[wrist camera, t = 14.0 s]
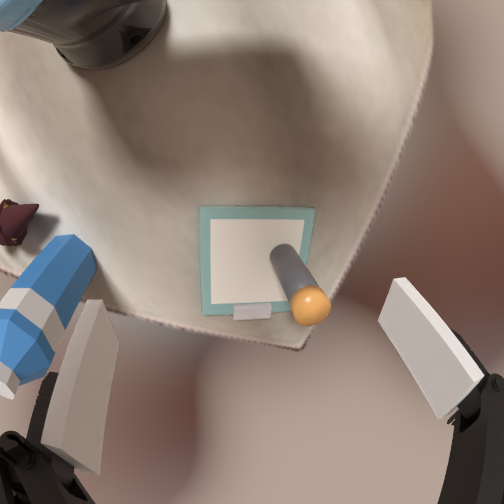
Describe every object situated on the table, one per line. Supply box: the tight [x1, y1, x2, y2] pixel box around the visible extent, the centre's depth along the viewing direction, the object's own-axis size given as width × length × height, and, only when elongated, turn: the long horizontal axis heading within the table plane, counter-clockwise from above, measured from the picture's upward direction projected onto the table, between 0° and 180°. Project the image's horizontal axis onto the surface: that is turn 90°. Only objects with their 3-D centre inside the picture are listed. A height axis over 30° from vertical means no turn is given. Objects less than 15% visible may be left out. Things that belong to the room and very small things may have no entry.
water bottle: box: [0, 234, 97, 400], centre depth 26 cm, size 9×9×25 cm
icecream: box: [0, 199, 39, 246], centre depth 29 cm, size 7×7×15 cm
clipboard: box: [199, 206, 315, 320], centre depth 41 cm, size 18×16×2 cm
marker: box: [270, 244, 331, 326], centre depth 35 cm, size 4×4×13 cm
